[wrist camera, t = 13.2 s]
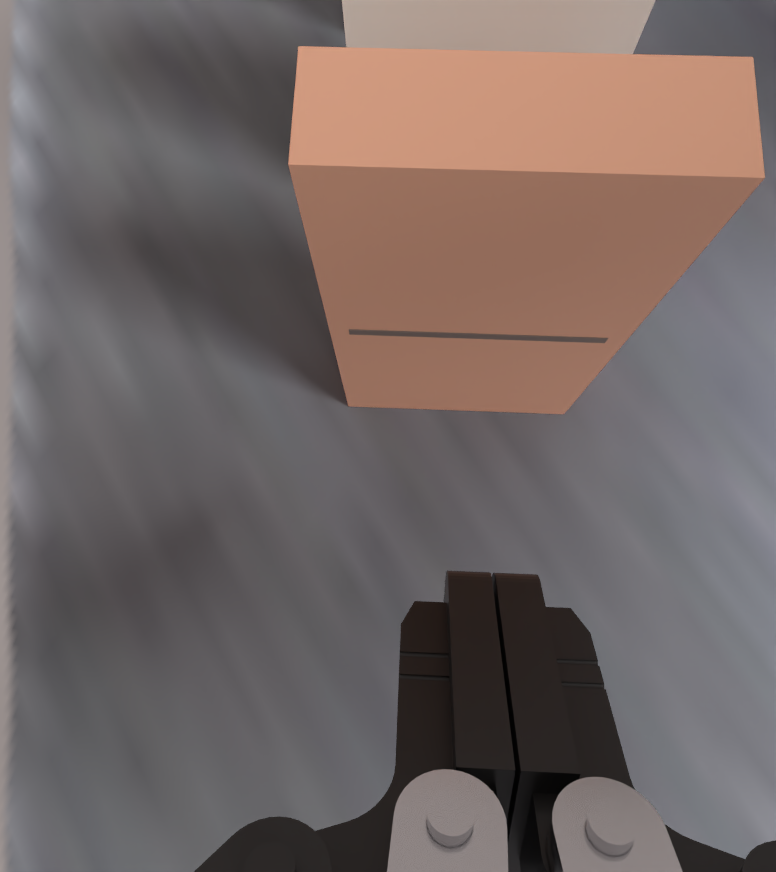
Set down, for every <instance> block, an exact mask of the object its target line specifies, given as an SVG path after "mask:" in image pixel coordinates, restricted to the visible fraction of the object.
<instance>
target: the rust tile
mask: <svg viewBox="0 0 776 872" xmlns="http://www.w3.org/2000/svg"><path fill="white" fill-rule="evenodd" d="M288 166H289V170H290V174H291V178H292V182H293V186H294V190H295V194H296V198H297V202H298V206H299V210H300V214H301V218H302V222H303V226H304V230H305V234H306V238H307V242H308V246H309V250H310V254H311V258H312V262H313V266H314V270H315V274H316V278H317V282H318V286H319V290H320V294H321V298H322V302H323V306H324V310H325V314H326V318H327V322H328V326H329V330H330V334H331V338H332V342H333V346H334V351H335V355H336V359H337V363H338V367H339V371H340V375H341V379H342V383H343V387H344V391H345V395H346V399H347V403H348V406H350V407H378V408H405V409H433V410H461V411H488V412H516V413H543V414H565V412H566V411H567V410H568V409H569V408H570V407H571V405H572V404H573V403H574V402H575V401H576V399H577V398H578V397H579V396H580V395H581V394H582V392H583V391H584V390H585V389H586V388H587V387H588V385H589V384H590V383H591V382H592V381H593V379H594V378H595V377H596V376H597V375H598V374H599V372H600V371H601V370H602V369H603V368H604V367H605V365H606V364H607V363H608V362H609V361H610V359H611V358H612V357H613V356H614V355H615V354H616V352H617V351H618V350H619V349H620V348H621V347H622V345H623V344H624V343H625V342H626V341H627V340H628V338H629V337H630V336H631V335H632V334H633V332H634V331H635V330H636V329H637V328H638V327H639V325H640V324H641V323H642V322H643V321H644V320H645V318H646V317H647V316H648V315H649V314H650V312H651V311H652V310H653V309H654V308H655V307H656V305H657V304H658V303H659V302H660V301H661V300H662V298H663V297H664V296H665V295H666V294H667V292H668V291H669V290H670V289H671V288H672V287H673V285H674V284H675V283H676V282H677V281H678V280H679V278H680V277H681V276H682V275H683V274H684V272H685V271H686V270H687V269H688V268H689V267H690V265H691V264H692V263H693V262H694V261H695V260H696V258H697V257H698V256H699V255H700V254H701V253H702V251H703V250H704V249H705V248H706V247H707V245H708V244H709V243H710V242H711V241H712V240H713V238H714V237H715V236H716V235H717V234H718V233H719V231H720V230H721V229H722V228H723V227H724V225H725V224H726V223H727V222H728V221H729V220H730V218H731V217H732V216H733V215H734V214H735V213H736V211H737V210H738V209H739V208H740V207H741V205H742V204H743V203H744V202H745V201H746V200H747V198H748V197H749V196H750V195H751V194H752V193H753V191H754V190H755V189H756V188H757V187H758V185H759V184H760V183H761V182H762V181H763V180H764V178H765V173H764V163H763V152H762V142H761V132H760V122H759V112H758V101H757V91H756V81H755V71H754V60H753V57H733V56H691V55H648V54H606V53H564V52H522V51H480V50H437V49H395V48H353V47H311V46H298V58H297V69H296V81H295V92H294V104H293V115H292V127H291V139H290V150H289V162H288Z"/></svg>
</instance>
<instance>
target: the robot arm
mask: <svg viewBox="0 0 776 872" xmlns="http://www.w3.org/2000/svg"><path fill="white" fill-rule="evenodd" d="M194 872H776V841H771V842H766V843H763V844H761V845H758V846H757V847H755V848H754V849H753V850H752V851H751V852H750V853H749V854H748V856H747V857H746V859H743V858H740V857H737V856H734V855H732V854H729V853H726V852H724V851H721V850H718V849H715V848H713V847H710V846H707V845H705V844H702V843H699V842H697V841H694V840H692V839H689V838H687V837H685V836H682V835H681V834H679V833H677V832H676V831H674V830H672V829H671V828H669V827H668V826H667V825H665V824H664V822H663V820H662V818H661V817H660V815H659V814H658V812H657V811H656V809H655V808H654V807H653V806H652V804H651V803H650V802H649V801H648V800H647V799H646V798H645V797H643V796H642V795H641V794H640V793H639V792H637V791H636V790H635V789H634V787H633V785H632V782H631V779H630V776H629V773H628V769H627V765H626V762H625V758H624V754H623V751H622V747H621V744H620V740H619V736H618V733H617V729H616V725H615V722H614V718H613V714H612V711H611V707H610V703H609V700H608V696H607V693H606V689H604V682H603V678H602V674H601V671H600V667H599V666H598V660H597V656H596V652H595V649H594V645H593V642H592V638H591V634H590V632H589V631H588V630H587V628H586V627H585V626H584V624H583V623H582V622H581V621H580V619H579V618H578V617H577V616H576V614H575V613H574V612H573V611H572V609H571V608H554V607H545V602H544V597H543V592H542V588H541V583H540V579H539V577H538V575H532V574H508V573H493V574H492V577H491V573H489V572H465V571H447V572H446V580H445V593H444V603H443V602H420V601H415V602H414V603H413V605H412V607H411V608H410V610H409V612H408V613H407V615H406V617H405V618H404V620H403V622H402V623H401V639H400V665H399V691H398V717H397V743H396V766H395V773H394V777H393V780H392V783H391V785H390V787H389V789H388V791H387V792H386V794H385V795H384V797H383V798H382V799H381V800H380V801H379V803H378V804H377V805H376V806H375V807H373V808H372V809H371V810H369V811H368V812H367V813H365V814H363V815H362V816H360V817H358V818H356V819H353V820H350V821H348V822H345V823H341V824H338V825H334V826H331V827H328V828H324V829H321V830H317V831H314V830H313V829H312V828H310V827H309V826H308V825H306V824H304V823H302V822H300V821H299V820H295V819H292V818H287V817H269V818H265V819H260V820H257V821H255V822H253V823H250V824H248V825H247V826H245V827H243V828H242V829H240V830H239V831H238V832H236V833H235V834H234V835H233V836H232V837H230V838H229V839H228V840H227V841H226V842H225V843H224V844H223V845H222V846H221V847H220V848H219V849H218V850H217V851H216V852H215V853H213V854H212V855H211V856H210V857H209V858H208V859H207V860H206V861H205V862H204V863H203V864H202V865H201V866H200V867H199V868H198V869H196V870H195V871H194Z"/></svg>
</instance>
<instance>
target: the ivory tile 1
mask: <svg viewBox="0 0 776 872" xmlns="http://www.w3.org/2000/svg"><path fill="white" fill-rule="evenodd" d="M655 1H656V0H342V6H343V17H344V28H345V39H346V47H353V48H395V49H437V50H480V51H522V52H564V53H606V54H633V52H634V50H635V48H636V45H637V43H638V41H639V38H640V36H641V34H642V31H643V29H644V27H645V24H646V22H647V19H648V17H649V15H650V12H651V10H652V8H653V5H654V3H655Z"/></svg>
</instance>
